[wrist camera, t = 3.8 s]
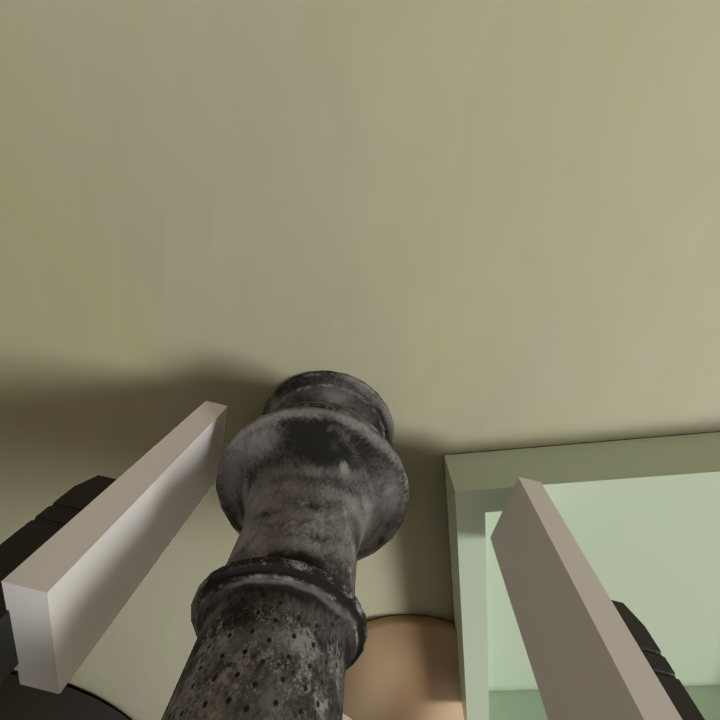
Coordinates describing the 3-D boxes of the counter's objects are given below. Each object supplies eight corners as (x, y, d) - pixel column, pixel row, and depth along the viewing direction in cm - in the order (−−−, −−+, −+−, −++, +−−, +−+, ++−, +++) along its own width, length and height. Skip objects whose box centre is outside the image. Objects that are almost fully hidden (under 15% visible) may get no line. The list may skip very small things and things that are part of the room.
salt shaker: (301, 510, 15) (96, 1260, 4) (225, 401, 14) (-450, 1154, 3) (425, 462, 14) (603, 1310, 3) (359, 337, 13) (215, 1185, 1)
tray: (458, 689, 19) (468, 742, 17) (444, 455, 14) (454, 491, 12) (761, 681, 18) (809, 737, 16) (863, 419, 13) (950, 453, 11)
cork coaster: (339, 725, 21) (338, 736, 20) (312, 619, 18) (310, 629, 17) (497, 722, 20) (499, 734, 19) (496, 610, 17) (499, 621, 16)
